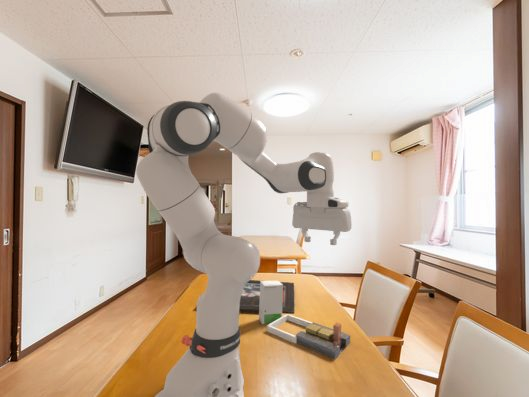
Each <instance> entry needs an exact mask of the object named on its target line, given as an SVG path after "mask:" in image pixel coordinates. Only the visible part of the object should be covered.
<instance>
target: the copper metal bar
mask: <svg viewBox="0 0 529 397" xmlns="http://www.w3.org/2000/svg"><path fill="white" fill-rule="evenodd" d="M332 329H333V343H334V344H336V345H339V346H340V347H341V345H342V339H341V332H342V324H341V323H337V322H335V323H334V325H333V327H332Z"/></svg>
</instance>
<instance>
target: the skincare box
mask: <svg viewBox="0 0 529 397" xmlns="http://www.w3.org/2000/svg"><path fill="white" fill-rule="evenodd" d="M259 281H260V303H259V313H258V321H259V322H260V323H261V325H265V324H266V325H267V324H270V323H272V322H274V321H276V320H277V319H279V318H281V317H283V313H282V301H283V284H282V283H280V282H281V281H279V280H259Z"/></svg>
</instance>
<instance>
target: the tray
mask: <svg viewBox="0 0 529 397" xmlns="http://www.w3.org/2000/svg"><path fill="white" fill-rule="evenodd" d="M287 321H289V322H291V323H295V324H298V325H300V326H302V327H305V328H306V327H307V326H308V325H310V324H311V323H313V322H312V321H309V320H306V319H304V318H300V317H298V316H295V315H292V314H290V313H285V314H284V315H282V317H281V318H279V319H277V320H276V321H274V322H272V323H268V324H266V332H268V333H269V334H272V335H274V336H277V337H279V338H282V339H283V340H286V341H288V342H291V343H294V344H298V343H297V337H296V334H295V335H294V334H292V333H291V332H290V333H289V332H287V331H285V330H283V329H280V328H277V327H279V326H280V325H283V324H284V323H286V322H287Z"/></svg>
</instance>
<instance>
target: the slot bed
mask: <svg viewBox="0 0 529 397" xmlns="http://www.w3.org/2000/svg"><path fill="white" fill-rule="evenodd" d="M312 324H315V325H318V326H321V327H322V328H326V329H329V330H332V331H333V328H330V327H327V326H325V325H322V324H319V323H317V322H314V321H313V322H312ZM295 336H296V337H297V343H296V344H298V345H301V346H302V347H303V346H304V347H306V348H307V349H310V350H312V351H315V352H316V353H319V354H321V355H324V356H327V357H328V358H331V359H334V360H336V359H337V358H338V357H339V356H340V355H341V353H343V351H344V350H345V349H346V348H347V347H348V346H349V345H350V343H351V335H350V334H348V333H346V332H342V331H341V339H342V345H341V347H340V346H339V345H336V344H334V343H331V342H329V341H326V340H323V339H321V338H318V337H316V336H313V335H311V334H308V333H306V331H302V330H300V331H299V332H298V333H296V334H295Z"/></svg>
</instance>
